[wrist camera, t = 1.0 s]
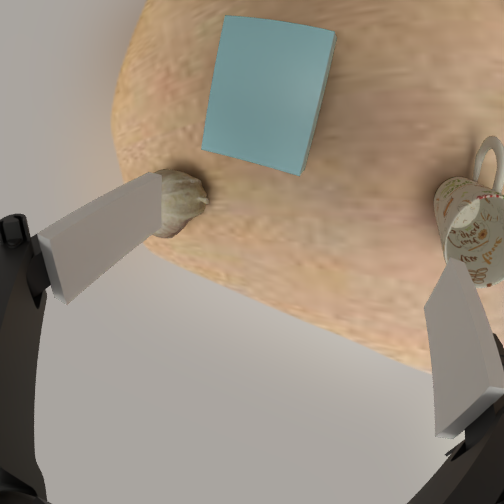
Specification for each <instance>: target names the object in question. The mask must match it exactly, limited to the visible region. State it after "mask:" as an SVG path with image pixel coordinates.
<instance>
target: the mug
mask: <svg viewBox="0 0 504 504" xmlns="http://www.w3.org/2000/svg"><path fill="white" fill-rule="evenodd" d="M490 149H493V150H494V152H495V155H496V159H497V171H496V176H495V180H494V184H493V188H492V189H490V188H488V187H485V186H483V185H481V184H479V183H477V180H478V177H479V174H480V170H481V166H482V163H483V160H484V157H485V155H486V153H487V151H488V150H490ZM503 184H504V147H503V145H502V143H501V141H500V140H499V139H498V138H497V137H495V136H489V137H487V138H486V139H485V140H484V141H483V143H482V145H481V147H480V149H479V151H478V153H477V155H476V159H475V166H474V173H473V181H472V180H470V179H467V178H464V177H453V178H450V179H448V180H446V181H445V182H444V183H442V184H441V186H440V187H439V188H438V190H437V192H436V194H435V197H434V213H435V217H436V221H437V226H438V230H439V235H440V240H441V245H442V250H443V255H444V259H445V262H446V265H447V263H448V261H449V259H450V257H451V258H454V259H456V260H459V261H462V262H464V263H465V265H466V267H467V269H468V272H469V274H470V276H471V278H472V281H473V283H474V285H475V288H486V287H490V286H493V285H495V284H498V283H499V282H501V281H503V280H504V195H502V194H501V192H502V188H503Z"/></svg>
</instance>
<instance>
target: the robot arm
mask: <svg viewBox="0 0 504 504" xmlns="http://www.w3.org/2000/svg"><path fill="white" fill-rule="evenodd" d="M161 196H162V175H159V174H155V173H150V172H148V173H146V174H144V175H142V176H140V177H138V178H136V179H134V180H132V181H130V182H128V183H126V184H124V185H122V186H120V187H118V188H116V189H114V190H112V191H110V192H108V193H107V194H105V195H103V196H101V197H99V198H97V199H95V200H93V201H92V202H90V203H88V204H86V205H84V206H83V207H81V208H79V209H77V210H75V211H74V212H72V213H70V214H69V215H67V216H65V217H63V218H62V219H60V220H59V221H57V222H55V223H54V224H52V225H50V226H49V227H47V228H45V229H44V230H42V231H40V232H39V233H37V234H36V235H34V236H33V237H30V233H29V228H28V224H27V219H26V216H25V215H23V214H13V215H9V216H6V217H4V218H2V219H1V220H0V504H51V503H49V502H47V496H46V489H45V483H44V478H43V476H42V472H41V471H40V469H39V467H38V465H37V462H36V459H35V449H34V400H35V381H36V369H37V359H38V351H39V343H40V335H41V328H42V322H43V316H44V310H45V305H46V300H47V293H46V291H45V289H46V288H47V287H49V286H50V285H51V288H52V291H53V294H54V297H55V298H56V299H58V300H60V301H61V302H63V303H64V304H66V305H67V304H69V303H70V302H71V301H72V300H73V299H74V298H75V297H77V296H78V295H79V294H80V293H81V292H82V291H84V290H85V289H86V288H87V287H88V286H89V285H91V284H92V283H93V282H94V281H95V280H96V279H98V278H99V277H100V276H101V275H102V274H104V273H105V272H106V271H107V270H108V269H109V268H111V267H112V266H113V265H114V264H116V263H117V262H118V261H119V260H120V259H122V258H123V257H124V256H125V255H127V254H128V253H129V252H130V251H132V250H133V249H134V248H135V247H137V246H138V245H139V244H141V243H142V242H143V241H144V240H146V239H147V238H148V237H149V236H151V235H152V234H153V233H155V232H156V231H157V230H159V229H160V228H161V227H162V224H161ZM424 311H425V317H426V324H427V331H428V338H429V346H430V355H431V364H432V375H433V388H434V407H435V437H440V438H448V439H454V438H455V437H456V436H457V435H459V434H460V433H461V432H462V431H463V430H465V440H463V441H462V442H461V443H460V444H458V445H457V446H455V447H454V448H453V449H451V450H450V451H449V452H447V453H446V454H445V455H446V456H448V455H450V454H451V453H452V454H451V455H450V456H449V457H448V459H447V460H446V461H445V462H444V464H443V465H442V466H441V467H440V469H439V470H438V471H437V472H436V473H435V474H434V475H433V477H432V478H431V479H430V480H429V481H428V482H427V483H426V484H425V485H424V487H423V488H422V489H421V490H420V491H419V492H418V493H417V494H416V495H415V496H414V497H413V498H412V499H411V500H410V501H409V502H408V503H407V504H504V348H503V345H502V343H501V342H500V340H499V339H498V337H497V336H496V334H494V333H492V330H491V327H490V324H489V322H488V319H487V316H486V313H485V311H484V308H483V305H482V303H481V300H480V298H479V295H478V293H477V290H476V288H475V285H474V283H473V281H472V278H471V276H470V274H469V272H468V269H467V267H466V265H465V263H464V262H462V261H459V260H456V259H454V258H451V257H450V259H449V261H448V263H447V265H446V267H445V269H444V271H443V273H442V275H441V277H440V279H439V281H438V283H437V284H436V286H435V288H434V290H433V292H432V294H431V296H430V297H429V299H428V301H427V303H426V305H425V306H424Z"/></svg>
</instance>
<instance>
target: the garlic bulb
mask: <svg viewBox="0 0 504 504" xmlns="http://www.w3.org/2000/svg"><path fill="white" fill-rule="evenodd" d="M155 174H159V175H162V196H161V224H162V227H161V228H160V229H159V230H157V231H156V232H155V233H153V234H152V235H154V236H157V237H161V238H172V237H174V236H175V235H177V234H178V233H179V232H180V231H181V230H182V229H183V228H184V227H185V226H186V224H187V222H188V221H190V220H191V219H192V218H193V217H196V216H198V215H199V214H201V213H203V211H204V209H205V204H208V203H209V199H208V198H206V196H207V194H206V193H205V191H204V189H203V187H202V184H201V181H200V180H199V179H197V178H194V177H192V176H190V175H189V174H186V173H184V172H181V171H176V170H169V169H163V170H159V171H157V172H155Z"/></svg>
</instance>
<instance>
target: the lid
mask: <svg viewBox="0 0 504 504" xmlns="http://www.w3.org/2000/svg"><path fill="white" fill-rule="evenodd" d="M336 40H337V36H336V34H335V31H330V30H326V29H321V28H317V27H312V26H307V25H301V24H296V23H290V22H284V21H277V20H269V19H261V18H252V17H241V16H227V15H225V19H224V23H223V28H222V33H221V37H220V42H219V47H218V52H217V58H216V63H215V68H214V74H213V79H212V85H211V91H210V96H209V102H208V109H207V115H206V121H205V128H204V134H203V141H202V148H201V150H205V151H210V152H214V153H218V154H222V155H226V156H230V157H233V158H237V159H241V160H245V161H249V162H252V163H256V164H259V165H263V166H267V167H270V168H274V169H277V170H280V171H284V172H287V173H290V174H294V175H297V176H300V175H301V174H302V172H303V171H304V170H305V167H306V163H307V159H308V155H309V151H310V147H311V144H312V140H313V136H314V132H315V128H316V124H317V120H318V116H319V112H320V108H321V104H322V100H323V96H324V91H325V87H326V83H327V79H328V75H329V70H330V66H331V62H332V58H333V53H334V49H335V45H336Z"/></svg>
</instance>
